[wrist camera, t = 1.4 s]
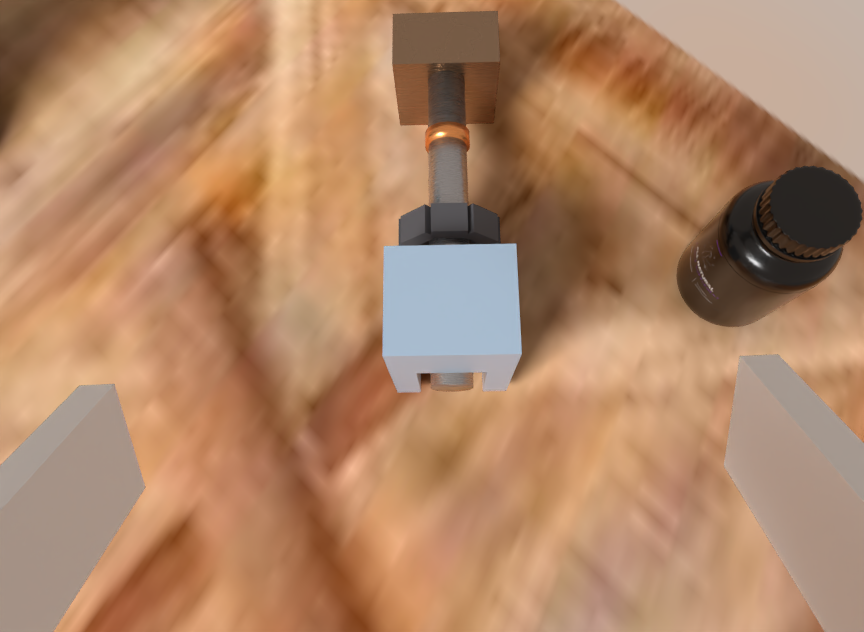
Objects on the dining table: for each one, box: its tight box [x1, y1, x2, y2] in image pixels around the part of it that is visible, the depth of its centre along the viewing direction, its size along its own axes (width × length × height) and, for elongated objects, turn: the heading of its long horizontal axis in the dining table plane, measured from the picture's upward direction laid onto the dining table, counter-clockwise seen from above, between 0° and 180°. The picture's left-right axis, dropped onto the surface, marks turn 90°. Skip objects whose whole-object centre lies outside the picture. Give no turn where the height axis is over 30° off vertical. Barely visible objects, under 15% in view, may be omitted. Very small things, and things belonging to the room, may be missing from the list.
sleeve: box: [383, 244, 522, 392], centre depth 39 cm, size 6×7×10 cm
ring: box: [399, 203, 500, 246], centre depth 42 cm, size 2×6×6 cm, turn 91°
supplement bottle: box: [677, 166, 862, 327], centre depth 40 cm, size 7×7×12 cm
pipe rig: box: [392, 11, 500, 391], centre depth 44 cm, size 25×7×7 cm, turn 1°
